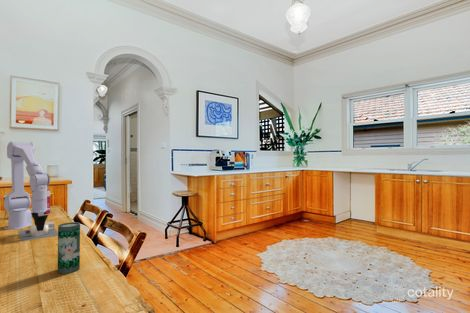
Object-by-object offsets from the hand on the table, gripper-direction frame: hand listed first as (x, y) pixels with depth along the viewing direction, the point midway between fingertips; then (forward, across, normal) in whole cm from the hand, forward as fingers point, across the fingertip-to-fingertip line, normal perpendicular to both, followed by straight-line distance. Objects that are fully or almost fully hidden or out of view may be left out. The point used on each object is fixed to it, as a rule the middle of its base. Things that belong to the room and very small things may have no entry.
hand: (39, 228), depth 125 cm
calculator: (+3, +51, -6) cm, 51 cm away
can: (+3, -51, -4) cm, 52 cm away
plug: (+3, 0, 0) cm, 3 cm away
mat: (+3, +3, 0) cm, 4 cm away
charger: (+3, +8, -4) cm, 9 cm away
